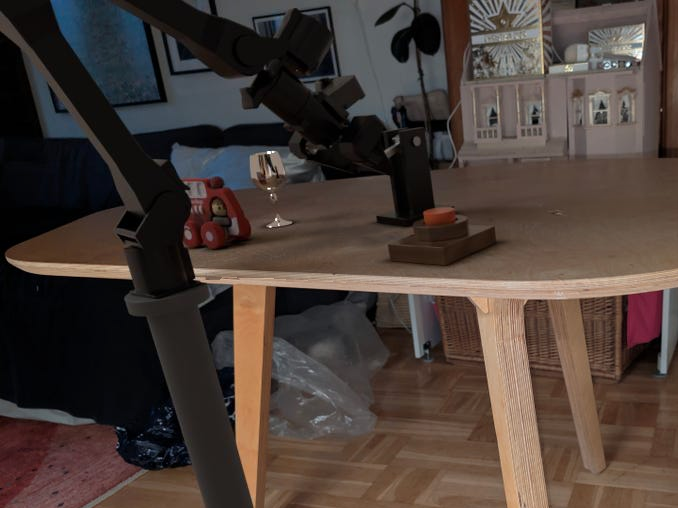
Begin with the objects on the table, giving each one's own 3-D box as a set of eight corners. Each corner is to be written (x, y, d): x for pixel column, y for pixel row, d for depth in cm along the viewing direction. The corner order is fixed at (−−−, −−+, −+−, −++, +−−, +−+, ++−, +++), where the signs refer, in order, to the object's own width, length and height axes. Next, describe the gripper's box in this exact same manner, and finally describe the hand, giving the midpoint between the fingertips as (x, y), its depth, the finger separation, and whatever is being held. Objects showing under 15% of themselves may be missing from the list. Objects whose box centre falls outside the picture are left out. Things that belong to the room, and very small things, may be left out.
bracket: (406, 226, 108) (392, 133, 103) (376, 222, 114) (362, 134, 108) (455, 213, 114) (444, 124, 109) (424, 210, 120) (413, 125, 114)
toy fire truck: (229, 250, 106) (211, 180, 102) (176, 247, 112) (158, 181, 108) (263, 239, 111) (248, 172, 107) (211, 237, 117) (195, 173, 113)
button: (443, 228, 87) (441, 214, 86) (418, 227, 89) (416, 213, 88) (462, 221, 90) (460, 207, 89) (438, 220, 92) (436, 206, 91)
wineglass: (255, 228, 120) (238, 156, 116) (276, 220, 125) (261, 151, 121) (282, 228, 118) (266, 154, 114) (302, 220, 123) (288, 149, 118)
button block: (445, 265, 84) (441, 232, 83) (390, 260, 89) (385, 229, 88) (496, 242, 92) (493, 212, 91) (442, 239, 97) (439, 210, 96)
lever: (378, 176, 104) (371, 161, 103) (359, 175, 108) (352, 161, 106) (424, 144, 109) (418, 129, 107) (405, 144, 112) (398, 130, 111)
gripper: (360, 49, 90) (437, 127, 101) (290, 61, 104) (364, 129, 114) (320, 121, 89) (402, 192, 100) (253, 124, 102) (332, 187, 113)
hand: (374, 172), depth 107 cm, fingers open, 9 cm apart
